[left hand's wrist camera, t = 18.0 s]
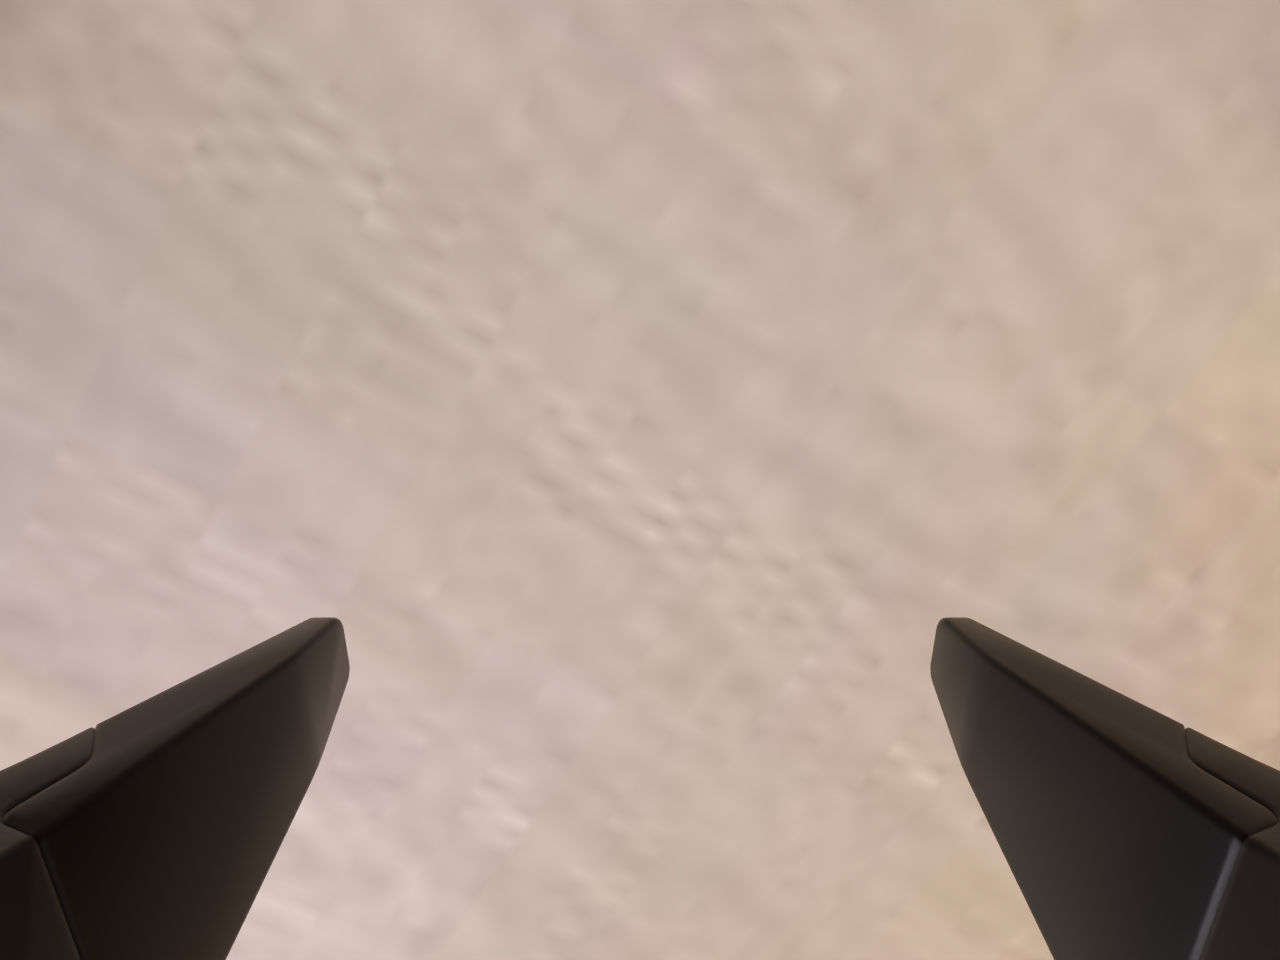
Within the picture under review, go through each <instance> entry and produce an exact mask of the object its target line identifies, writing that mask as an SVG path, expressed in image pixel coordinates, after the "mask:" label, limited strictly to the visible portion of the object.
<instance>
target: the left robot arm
mask: <svg viewBox="0 0 1280 960" xmlns="http://www.w3.org/2000/svg"><path fill="white" fill-rule="evenodd" d="M348 678H349V660H348V653H347V647H346V641H345V635H344V629H343V625H342V623H341V621H340V620H339V619H337V618H310V619H308V620H306V621H304V622H302V623H300V624H298V625H296V626H294V627H292V628H290V629H288V630H286V631H284V632H282V633H280V634H278V635H276V636H274V637H272V638H270V639H268V640H266V641H264V642H262V643H260V644H258V645H256V646H254V647H252V648H250V649H248V650H246V651H244V652H242V653H240V654H238V655H236V656H234V657H232V658H230V659H228V660H226V661H224V662H222V663H220V664H218V665H216V666H214V667H212V668H210V669H208V670H206V671H204V672H202V673H200V674H198V675H196V676H194V677H192V678H190V679H188V680H186V681H184V682H182V683H180V684H178V685H176V686H174V687H172V688H170V689H167V690H165V691H163V692H161V693H159V694H157V695H155V696H153V697H151V698H149V699H147V700H145V701H143V702H141V703H139V704H137V705H135V706H133V707H131V708H129V709H127V710H125V711H123V712H121V713H119V714H117V715H115V716H113V717H111V718H109V719H107V720H105V721H103V722H101V723H99V724H97V725H96V728H95V729H94V728H89V729H87V730H85V731H83V732H81V733H79V734H77V735H75V736H73V737H71V738H69V739H67V740H65V741H63V742H61V743H59V744H57V745H55V746H52V747H50V748H48V749H46V750H44V751H42V752H40V753H38V754H36V755H34V756H32V757H30V758H28V759H25V760H23V761H21V762H19V763H17V764H15V765H12V766H10V767H8V768H6V769H4V770H1V771H0V960H226V958H227V956H228V954H229V952H230V950H231V947H232V945H233V943H234V941H235V939H236V937H237V935H238V933H239V931H240V929H241V927H242V925H243V923H244V920H245V918H246V916H247V914H248V912H249V910H250V908H251V906H252V904H253V902H254V900H255V898H256V895H257V893H258V891H259V889H260V887H261V885H262V883H263V881H264V879H265V877H266V875H267V873H268V870H269V868H270V866H271V864H272V862H273V860H274V858H275V856H276V854H277V852H278V850H279V848H280V846H281V843H282V841H283V839H284V837H285V835H286V833H287V831H288V829H289V827H290V825H291V823H292V821H293V818H294V816H295V814H296V812H297V810H298V808H299V806H300V804H301V802H302V800H303V798H304V796H305V793H306V791H307V789H308V787H309V785H310V783H311V781H312V779H313V776H314V774H315V772H316V770H317V768H318V765H319V762H320V760H321V757H322V754H323V752H324V749H325V746H326V743H327V740H328V737H329V734H330V731H331V728H332V725H333V722H334V720H335V717H336V714H337V711H338V708H339V705H340V702H341V699H342V696H343V693H344V690H345V688H346V685H347V682H348ZM931 678H932V682H933V685H934V688H935V690H936V693H937V696H938V699H939V702H940V705H941V708H942V711H943V714H944V717H945V720H946V722H947V725H948V728H949V731H950V734H951V737H952V740H953V743H954V746H955V749H956V752H957V754H958V757H959V760H960V762H961V765H962V768H963V770H964V772H965V774H966V776H967V779H968V781H969V783H970V785H971V787H972V789H973V791H974V793H975V796H976V798H977V800H978V802H979V804H980V806H981V808H982V810H983V812H984V814H985V816H986V818H987V821H988V823H989V825H990V827H991V829H992V831H993V833H994V835H995V837H996V839H997V841H998V843H999V846H1000V848H1001V850H1002V852H1003V854H1004V856H1005V858H1006V860H1007V862H1008V864H1009V866H1010V868H1011V870H1012V873H1013V875H1014V877H1015V879H1016V881H1017V883H1018V885H1019V887H1020V889H1021V891H1022V893H1023V895H1024V898H1025V900H1026V902H1027V904H1028V906H1029V908H1030V910H1031V912H1032V914H1033V916H1034V918H1035V920H1036V923H1037V925H1038V927H1039V929H1040V931H1041V933H1042V935H1043V937H1044V939H1045V941H1046V943H1047V945H1048V948H1049V950H1050V952H1051V954H1052V956H1053V958H1054V960H1280V771H1279V770H1276V769H1274V768H1272V767H1270V766H1268V765H1265V764H1263V763H1261V762H1259V761H1257V760H1255V759H1252V758H1250V757H1248V756H1246V755H1244V754H1242V753H1240V752H1238V751H1236V750H1234V749H1232V748H1230V747H1228V746H1225V745H1223V744H1221V743H1219V742H1217V741H1215V740H1213V739H1211V738H1209V737H1207V736H1205V735H1203V734H1201V733H1199V732H1197V731H1195V730H1193V729H1191V728H1186V729H1185V728H1184V725H1183V724H1181V723H1179V722H1177V721H1175V720H1173V719H1171V718H1169V717H1167V716H1165V715H1163V714H1161V713H1159V712H1157V711H1155V710H1153V709H1151V708H1149V707H1147V706H1145V705H1143V704H1141V703H1139V702H1137V701H1135V700H1133V699H1131V698H1129V697H1127V696H1125V695H1123V694H1121V693H1119V692H1117V691H1115V690H1113V689H1110V688H1108V687H1106V686H1104V685H1102V684H1100V683H1098V682H1096V681H1094V680H1092V679H1090V678H1088V677H1086V676H1084V675H1082V674H1080V673H1078V672H1076V671H1074V670H1072V669H1070V668H1068V667H1066V666H1064V665H1062V664H1060V663H1058V662H1056V661H1054V660H1052V659H1050V658H1048V657H1046V656H1044V655H1042V654H1040V653H1038V652H1036V651H1034V650H1032V649H1030V648H1028V647H1026V646H1024V645H1022V644H1020V643H1018V642H1016V641H1014V640H1012V639H1010V638H1008V637H1006V636H1004V635H1002V634H1000V633H998V632H996V631H994V630H992V629H990V628H988V627H986V626H984V625H982V624H980V623H978V622H976V621H974V620H972V619H970V618H943V619H941V620H940V621H939V623H938V625H937V629H936V635H935V641H934V647H933V653H932V660H931Z"/></svg>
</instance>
